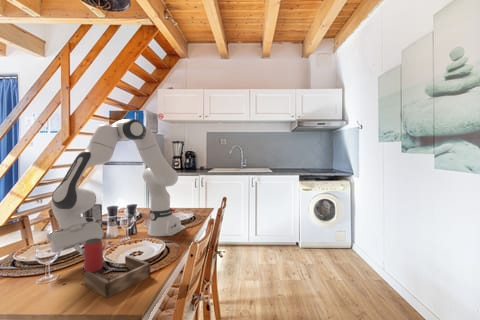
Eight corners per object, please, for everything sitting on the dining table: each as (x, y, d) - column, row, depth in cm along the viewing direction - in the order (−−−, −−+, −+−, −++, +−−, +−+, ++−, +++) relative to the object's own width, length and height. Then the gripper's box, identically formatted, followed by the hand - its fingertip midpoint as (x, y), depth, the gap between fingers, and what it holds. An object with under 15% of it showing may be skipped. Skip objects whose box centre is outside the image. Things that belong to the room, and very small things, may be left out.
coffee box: (102, 230, 154) (102, 204, 153) (92, 234, 148) (92, 206, 147) (92, 228, 158) (92, 202, 157) (82, 231, 152) (81, 204, 151)
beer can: (94, 274, 101) (94, 244, 101) (80, 272, 103) (79, 242, 102) (106, 266, 108) (106, 238, 107) (93, 265, 109) (92, 237, 109)
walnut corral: (127, 267, 107) (127, 255, 107) (150, 276, 100) (150, 263, 100) (84, 285, 93) (84, 272, 92) (107, 298, 85) (107, 283, 85)
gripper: (47, 228, 103) (59, 257, 98) (98, 217, 120) (110, 241, 116) (43, 237, 106) (54, 266, 101) (93, 224, 123) (105, 249, 118)
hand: (85, 253), depth 108 cm, fingers closed
